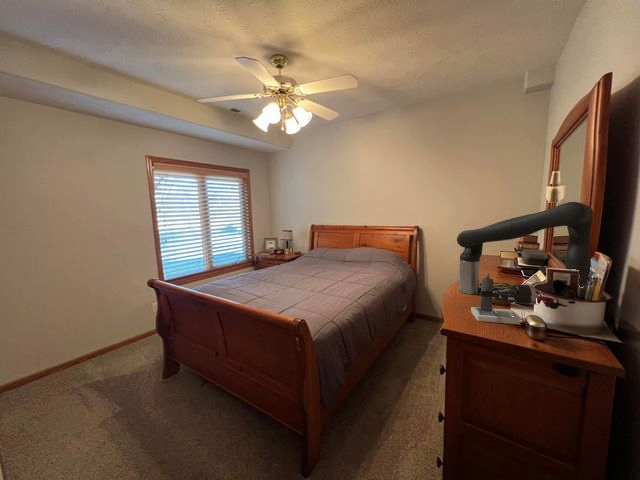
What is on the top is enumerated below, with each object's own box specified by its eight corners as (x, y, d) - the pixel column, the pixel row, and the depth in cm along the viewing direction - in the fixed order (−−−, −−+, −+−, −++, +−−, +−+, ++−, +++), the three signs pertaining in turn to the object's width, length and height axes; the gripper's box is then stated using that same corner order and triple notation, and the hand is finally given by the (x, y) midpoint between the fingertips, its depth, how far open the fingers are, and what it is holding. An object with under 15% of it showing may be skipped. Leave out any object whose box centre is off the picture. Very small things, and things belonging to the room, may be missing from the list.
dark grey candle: (479, 307, 111) (480, 272, 109) (490, 308, 110) (491, 272, 108) (482, 311, 107) (483, 274, 105) (493, 312, 106) (495, 274, 104)
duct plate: (471, 311, 115) (471, 305, 114) (511, 314, 110) (511, 308, 110) (477, 320, 105) (478, 314, 105) (522, 324, 101) (522, 318, 100)
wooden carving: (519, 303, 122) (520, 282, 121) (523, 306, 118) (525, 285, 117) (479, 300, 127) (480, 280, 126) (482, 304, 123) (483, 283, 121)
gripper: (520, 280, 110) (474, 278, 114) (538, 290, 96) (484, 288, 101) (519, 297, 110) (474, 295, 115) (536, 310, 97) (484, 306, 102)
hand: (479, 291), depth 108 cm, fingers closed on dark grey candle, 4 cm apart
